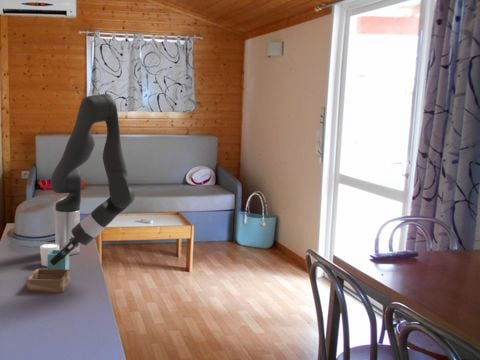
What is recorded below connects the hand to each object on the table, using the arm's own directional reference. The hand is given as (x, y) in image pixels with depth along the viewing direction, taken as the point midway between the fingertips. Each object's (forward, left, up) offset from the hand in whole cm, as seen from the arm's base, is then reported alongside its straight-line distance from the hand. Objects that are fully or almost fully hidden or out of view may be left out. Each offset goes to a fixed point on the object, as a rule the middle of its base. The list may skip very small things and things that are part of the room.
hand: (54, 259), depth 201 cm
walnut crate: (+12, +1, -5) cm, 14 cm away
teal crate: (0, +1, -5) cm, 5 cm away
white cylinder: (-12, -5, -5) cm, 14 cm away
